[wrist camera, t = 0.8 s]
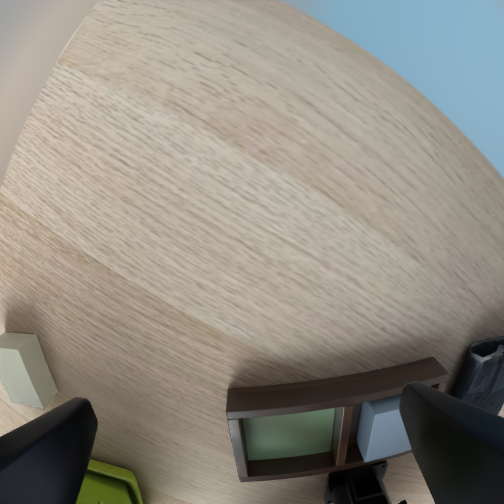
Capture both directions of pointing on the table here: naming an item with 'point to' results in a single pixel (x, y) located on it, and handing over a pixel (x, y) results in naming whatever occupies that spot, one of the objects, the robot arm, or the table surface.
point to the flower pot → (108, 485)
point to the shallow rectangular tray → (313, 421)
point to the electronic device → (483, 376)
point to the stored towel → (381, 429)
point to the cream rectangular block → (25, 370)
